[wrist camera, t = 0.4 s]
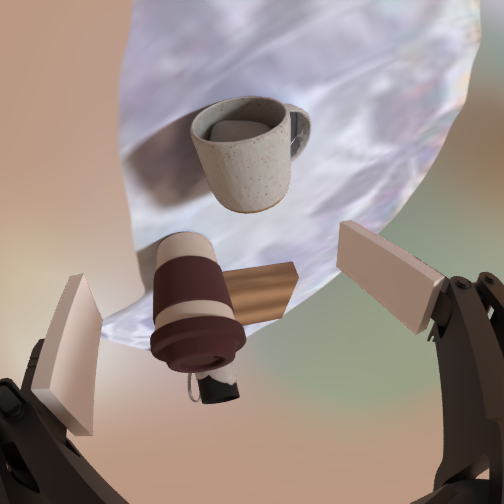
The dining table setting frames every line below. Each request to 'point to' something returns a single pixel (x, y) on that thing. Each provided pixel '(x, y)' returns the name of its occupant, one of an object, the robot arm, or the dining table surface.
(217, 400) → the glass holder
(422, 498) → the robot arm
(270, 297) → the walnut slab
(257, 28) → the dining table surface
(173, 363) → the coffee cup
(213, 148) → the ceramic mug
